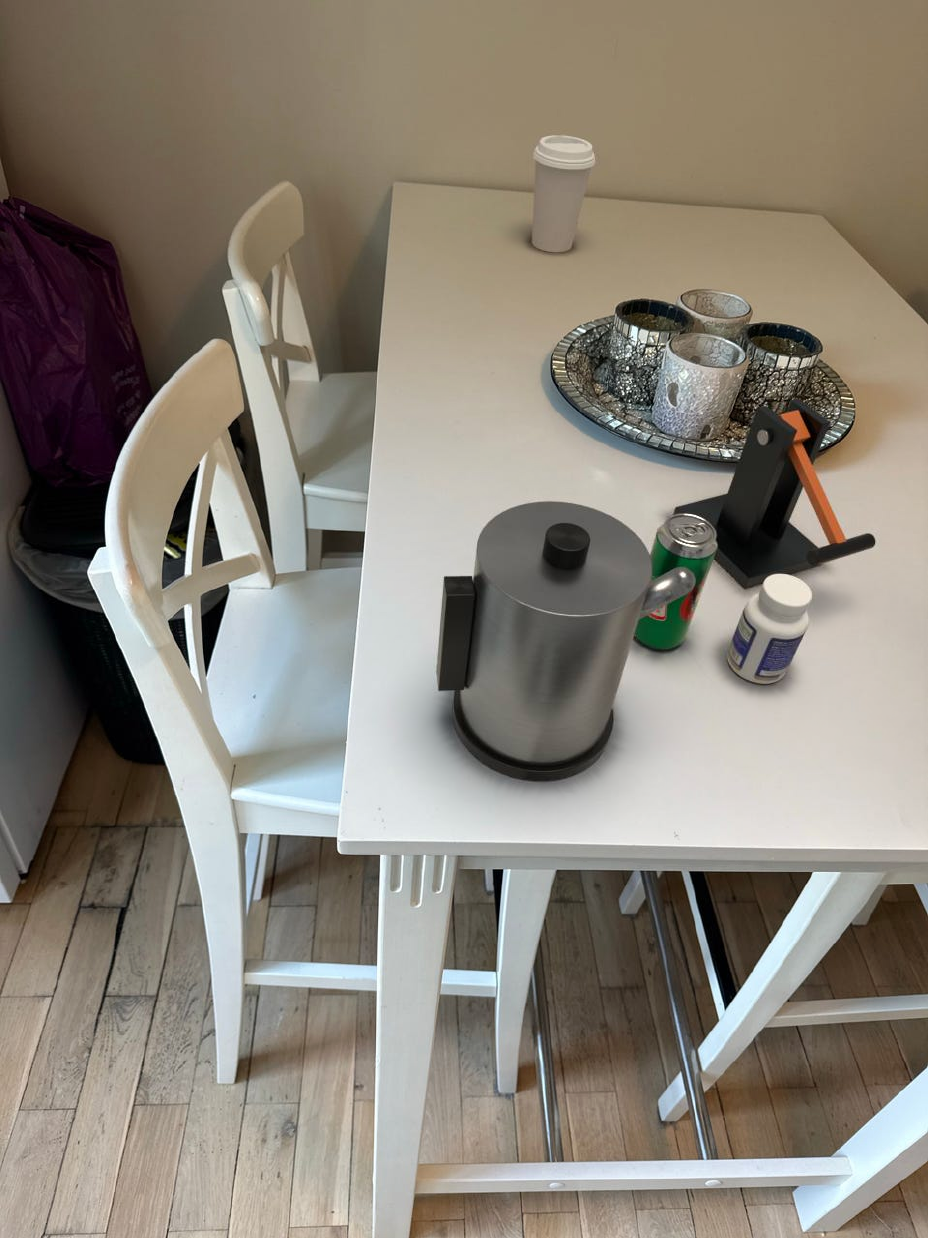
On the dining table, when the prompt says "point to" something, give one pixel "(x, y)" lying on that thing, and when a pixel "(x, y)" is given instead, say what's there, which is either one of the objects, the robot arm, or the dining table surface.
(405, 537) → the dining table surface
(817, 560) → the orange switch lever
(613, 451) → the dining table surface
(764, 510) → the switch bracket
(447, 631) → the kettle
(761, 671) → the pill bottle
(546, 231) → the coffee cup
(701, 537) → the soda can
